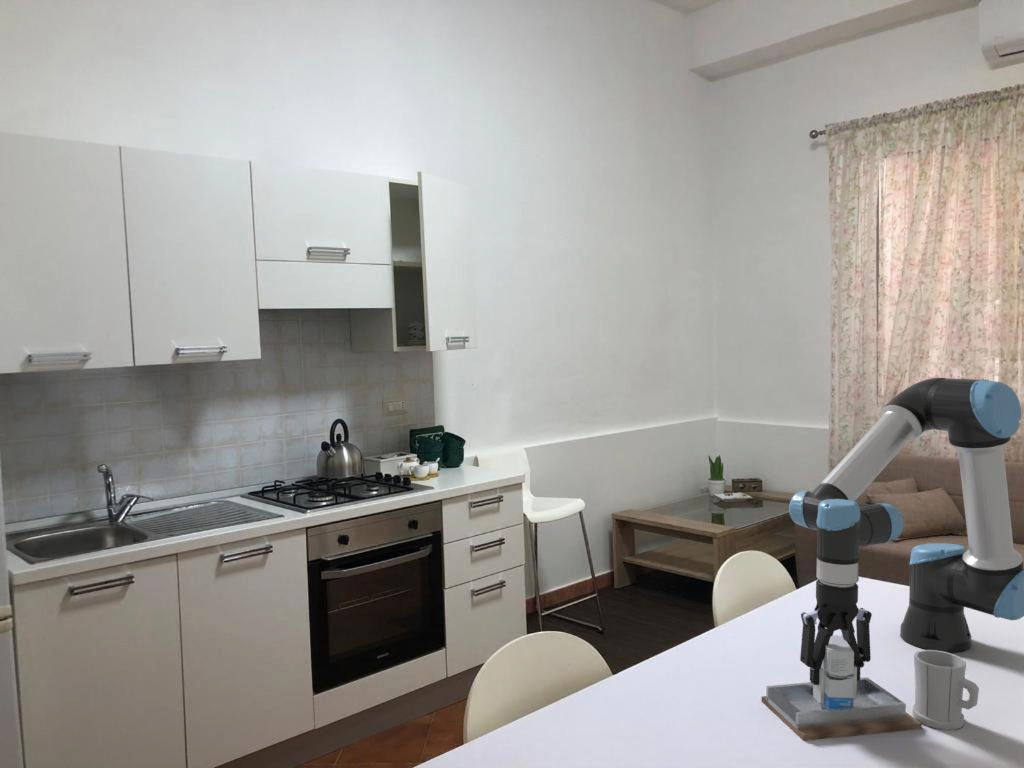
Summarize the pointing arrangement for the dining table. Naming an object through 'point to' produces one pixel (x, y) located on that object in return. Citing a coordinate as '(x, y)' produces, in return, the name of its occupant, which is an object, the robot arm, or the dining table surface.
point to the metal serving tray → (811, 714)
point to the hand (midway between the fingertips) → (834, 698)
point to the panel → (850, 727)
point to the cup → (941, 689)
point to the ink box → (838, 673)
